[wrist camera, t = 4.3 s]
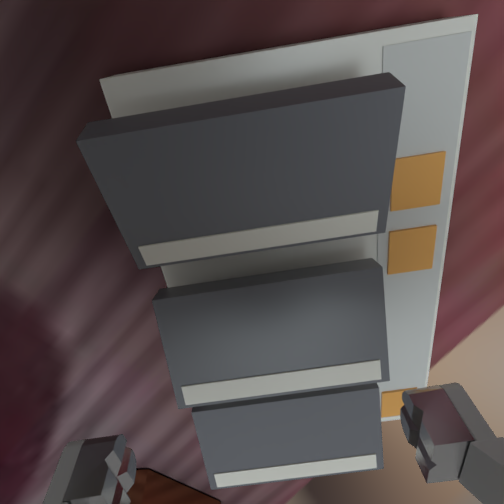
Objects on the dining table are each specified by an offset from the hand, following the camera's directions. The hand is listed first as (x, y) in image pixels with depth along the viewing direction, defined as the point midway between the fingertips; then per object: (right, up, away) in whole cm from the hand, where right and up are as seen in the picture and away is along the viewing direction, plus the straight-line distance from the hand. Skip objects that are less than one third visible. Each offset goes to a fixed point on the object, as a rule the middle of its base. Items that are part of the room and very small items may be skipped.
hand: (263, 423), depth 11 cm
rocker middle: (+1, +1, +6) cm, 7 cm away
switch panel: (+2, +4, +11) cm, 12 cm away
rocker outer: (+2, -5, +10) cm, 12 cm away
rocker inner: (0, +8, +3) cm, 8 cm away
